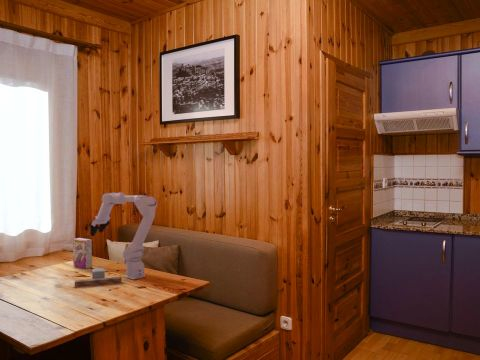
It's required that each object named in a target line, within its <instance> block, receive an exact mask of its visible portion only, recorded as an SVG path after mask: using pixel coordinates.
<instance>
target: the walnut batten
mask: <svg viewBox="0 0 480 360" xmlns="http://www.w3.org/2000/svg"><path fill="white" fill-rule="evenodd" d="M122 279H123V277H122V276H112V277H105V278H98V279H92V278H88V279H76V280H74V288H79V287H80V288H81V287H91V286H93V287H94V286H101V285H103V286H104V285H115V284H122Z"/></svg>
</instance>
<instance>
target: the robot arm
mask: <svg viewBox="0 0 480 360" xmlns="http://www.w3.org/2000/svg"><path fill="white" fill-rule="evenodd" d="M101 201H102V203H101V205H100V209H99V211H98V213H97V215H95V216H94V220H93V221H91V222H90V223H89V226H90V234H89V235H90V236H92V237H94V236H96V233H97V232H99V233H100V234H102V233H103V232H104V231H105V229H106V228H107V227H108V226H109V225H110V223H111V221H110V219H111V216H110V214H111V211H112V209H113V207H114V205H118V204H119V205H120V204H121V205H124V204H125V203H126V202H130V203H134V206H135V207H136V208H137V210H138V212H139V213H140V215H141V217H142V219H141V221H140V223H139V226H138V228H137V230H136V233H135V235H134V236H133V239H132V241H131V242H130V243H129V244H128V245H127V247H126V248H125V249H124V250H123V252H122V257H123V259H124V260H125V262H126V263H125V265H126V267H125V268H126V269H125V271H126V273H125V275H123V277H122V278H127V279H130V280H137V279H141V278H142V279H143V278H145V277H146V275H145V263H144V262H143V261H142V260H141V259H142V257H143V256H144V251H145V250H144V249H145V246H144V245H143V244H144V242H145V240H146V239H147V235H148V233H149V231H150V229H151V227H152V224H153V222H154V220H155V218H156V217H155V216H156V209H157V206H158V201H157V199H156V198H155V197H154V196H153V195H152V196H149V195H141V194H138V195H134V194H133V195H127V194H126V193H123V192H122V191H119V192H115V191H114V192H110V193H109V192H106V193H104V194H103V195H102V196H101Z"/></svg>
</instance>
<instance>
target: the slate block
mask: <svg viewBox="0 0 480 360" xmlns="http://www.w3.org/2000/svg"><path fill="white" fill-rule="evenodd" d="M91 273H92V274H91V275H92V277H91V279H98V278H106V277H105V273H106V271H105V268H103V267H102V268H92V270H91Z"/></svg>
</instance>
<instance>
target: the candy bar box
mask: <svg viewBox="0 0 480 360" xmlns="http://www.w3.org/2000/svg"><path fill="white" fill-rule="evenodd" d="M92 240H93V239H90V238H83V237H82V238H81V237H77V238H73V239H72V251H73V253H72V255H73V258H72V259H73V267H74V266H76V267H75V268H78V267H80V268H79V269H83V268H85V269H84V270H87V269H86V268H88V269H91V268H90V267H92V268H93V242H92Z"/></svg>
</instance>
